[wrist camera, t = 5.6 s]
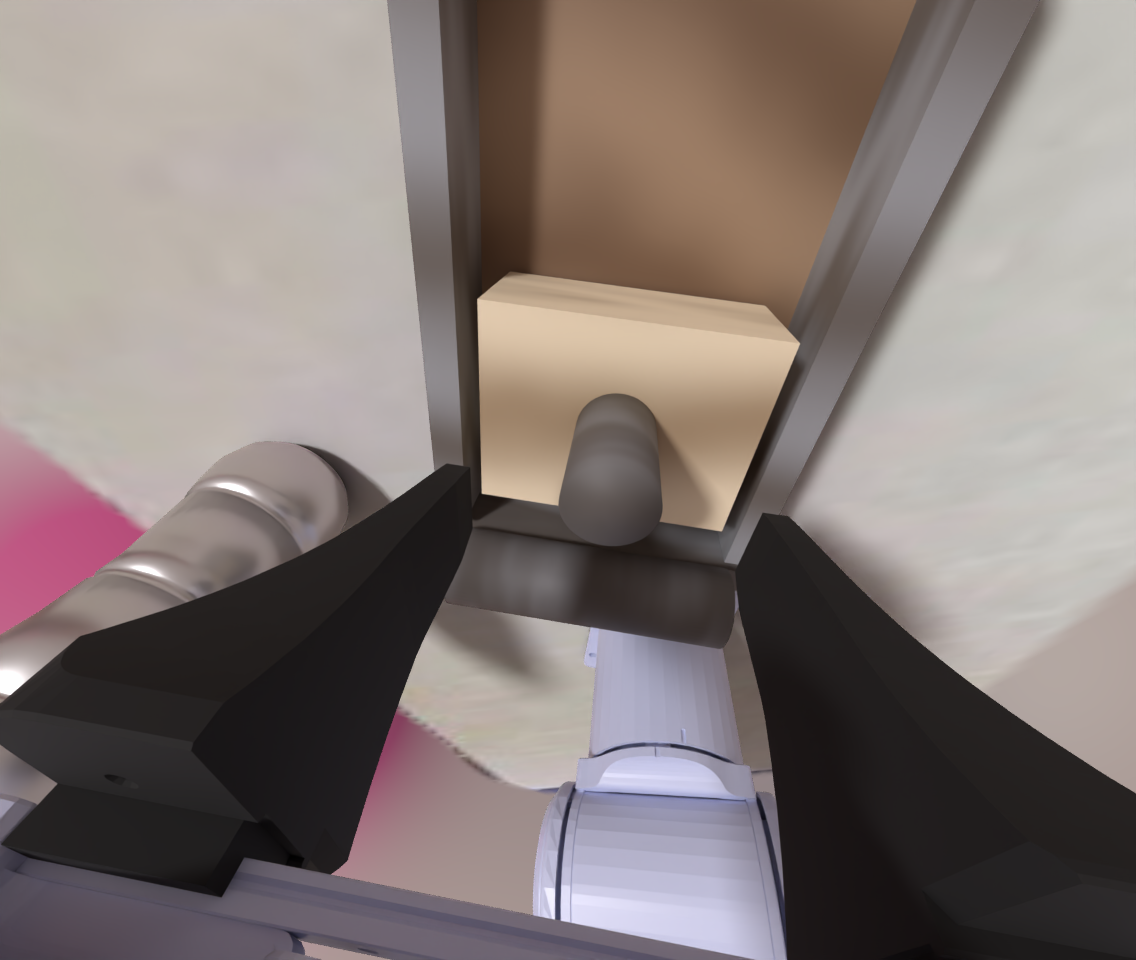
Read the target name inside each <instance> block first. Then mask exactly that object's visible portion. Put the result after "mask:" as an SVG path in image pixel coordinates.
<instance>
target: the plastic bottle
mask: <svg viewBox="0 0 1136 960" xmlns="http://www.w3.org/2000/svg"><path fill="white" fill-rule="evenodd" d="M347 517H348V499H347V492H346V489H345V486H344V484H343V482H342V480H341V478H340V477H339V475H338V474H337V473H336V471H335V470H334V469H333V468H332V467H331V466H330V465H329V464H328V463H327V462H326V461H325V460H323V459H322V458H321V457H320V456H318V455H317V454H315V453H313V452H312V451H310V450H308V449H306V448H303V447H301V446H299V445H295V444H292V443H286V442H271V441H265V442H255V443H253V444H250V445H247V446H245V447H243V448H240V449H238V450H236V451H234V452H232V453H230V454H228V455H225V456H224V457H222V458H221V459H220V460H218V461H217V462H216V463H215V464H214V465H213V466H212V467H211V468H210V469H209V470H208V471H207V472H206V473H205V474H204V475H203V476H201V477H200V478H199V479H198V481H197V482H196V483H195V484H194V485H193V487H192V488H191V489H190V490H189V491H188V493H187V494H186V496H185V498H184V499H182V500H181V501H180V502H179V503H178V504H177V505H176V506H175V507H174V508H172V509H171V510H170V511H169V512H168V513H167V514H166V515H165V516H163V517H162V518H161V519H160V520H159V521H158V522H157V523H156V524H155V525H153V526H152V527H151V528H150V529H149V530H148V531H147V532H146V533H145V534H143V535H142V536H141V537H140V538H139V539H138V540H137V541H136V542H134V543H133V544H132V545H131V546H130V547H129V548H128V549H127V550H126V551H124V552H123V553H122V554H121V555H119V556H118V557H116V558H115V559H114V560H112V561H111V562H109V563H108V564H106V565H105V566H104V567H102V568H101V569H99V570H98V571H96V573H95V575H94V577H90V578H86V579H85V580H84V581H82V582H80V583H79V584H78V585H76V586H75V587H73V588H72V589H70V590H69V591H68V592H66V593H65V594H63V595H62V596H60V597H59V598H58V599H56V600H55V601H53V602H52V603H50V604H49V605H48V606H46V607H45V608H43V609H42V610H40V611H39V612H37V613H36V614H34V615H33V616H31V617H29V618H27V619H26V620H24V621H22V622H21V623H19V624H18V625H16V626H14V627H12V628H11V629H9V630H7V631H6V632H4V633H2V634H1V635H0V703H1V702H2V701H4V700H5V699H6V698H7V697H8V696H10V695H11V694H12V693H13V692H14V691H15V690H17V689H18V688H19V687H20V686H21V685H23V684H24V683H25V682H26V681H27V680H28V679H30V678H31V677H32V676H33V675H34V674H36V673H37V672H38V671H39V670H40V669H41V668H43V667H44V666H45V665H46V664H47V663H49V662H50V661H51V660H52V659H53V658H54V657H56V656H57V655H58V654H59V653H60V652H62V651H63V650H64V649H65V648H66V647H67V646H69V645H70V644H71V643H72V642H73V641H75V640H76V639H77V638H78V637H80V636H82V635H85V634H89V633H92V632H96V631H99V630H102V629H106V628H109V627H112V626H115V625H118V624H122V623H125V622H128V621H131V620H134V619H138V618H141V617H144V616H147V615H150V614H154V613H157V612H160V611H163V610H166V609H169V608H172V607H175V606H178V605H181V604H183V603H186V602H189V601H192V600H194V599H197V598H200V597H203V596H205V595H208V594H211V593H214V592H216V591H219V590H221V589H224V588H226V587H229V586H232V585H234V584H237V583H239V582H242V581H244V580H247V579H249V578H251V577H253V576H256V575H258V574H260V573H262V572H265V571H267V570H269V569H271V568H274V567H276V566H278V565H280V564H283V563H285V562H287V561H289V560H292V559H294V558H296V557H298V556H300V555H302V554H304V553H306V552H308V551H310V550H312V549H314V548H316V547H318V546H320V545H321V544H323V543H325V542H327V541H329V540H331V539H333V538H334V537H336V536H338V535H339V534H340V532H341V530H342V528H343V526H344V525H345V523H346V521H347ZM57 784H58V783H56V782H54V781H53V780H51V779H50V778H48V777H47V776H45V775H44V774H42V773H41V772H39V771H38V770H36V769H35V768H33V767H32V766H30V765H29V764H27V763H26V762H24V761H23V760H21V759H20V758H18V757H17V756H15V755H14V754H12V753H11V752H9V751H8V750H6V749H5V748H4V747H3V746H1V745H0V793H1V794H7V795H11V796H15V797H19V798H22V799H25V800H28V801H30V802H33V803H35V804H37V805H38V804H39V803H40V802H41V801H42V800H43V799H44V798H45V796H46V795H47V794H48V793H49V792H50V791H51V790H52V789H53V788H54V787H55V786H56V785H57Z"/></svg>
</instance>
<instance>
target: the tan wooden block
mask: <svg viewBox="0 0 1136 960" xmlns="http://www.w3.org/2000/svg"><path fill="white" fill-rule="evenodd" d="M477 305H478V348H479V391H480V434H481V477H482V494H487V495H494V496H500V497H506V498H513V499H519V500H525V501H532V502H538V503H544V504H551V505H557V506H559V512H560V515H561V517H562V519H563V521H564V523H565V524H566V526H567V527H568V528H569V529H570V530H571V531H572V532H573V533H574V534H576V535H577V536H579V537H580V538H582V539H584V540H586V541H589V542H591V543H595V544H599V545H604V546H622V545H627V544H631V543H634V542H637V541H639V540H641V539H643V538H645V537H646V536H647V535H649V534H650V533H651V532H652V531H653V530H654V529H655V528H656V526H657V525H658V523H659V522H665V523H671V524H678V525H684V526H690V527H697V528H703V529H709V530H716V531H722V530H723V528H724V525H725V523H726V520H727V518H728V516H729V513H730V511H731V508H732V506H733V504H734V501H735V499H736V496H737V494H738V492H739V489H740V487H741V484H742V482H743V480H744V477H745V475H746V472H747V470H748V468H749V465H750V463H751V460H752V458H753V456H754V453H755V451H756V448H757V446H758V444H759V441H760V439H761V436H762V434H763V432H764V429H765V427H766V424H767V422H768V420H769V417H770V415H771V412H772V410H773V408H774V405H775V403H776V400H777V398H778V396H779V393H780V391H781V388H782V386H783V384H784V381H785V379H786V376H787V374H788V372H789V369H790V367H791V364H792V362H793V360H794V357H795V355H796V352H797V350H798V348H799V345H800V343H799V342H798V341H797V339H796V338H795V337H794V336H793V335H792V334H791V333H790V332H789V331H788V330H787V329H786V328H785V326H784V325H783V324H782V323H781V322H780V321H779V320H778V319H777V318H776V317H775V316H774V315H773V314H772V312H771V311H770V310H769V309H768V308H767V307H766V306H763V305H756V304H749V303H741V302H734V301H726V300H719V299H711V298H704V297H696V296H689V295H682V294H674V293H667V292H659V291H652V290H644V289H637V288H630V287H622V286H615V285H607V284H600V283H592V282H585V281H577V280H570V279H563V278H555V277H548V276H540V275H533V274H525V273H518V272H509V273H508V274H507V275H505V276H504V277H503V278H502V279H501V280H500V281H498V282H497V283H496V284H495V285H494V286H492V287H491V288H490V289H489V290H488V291H486V292H485V293H484V294H483V295H482V296H480V297H479V298H478V299H477Z"/></svg>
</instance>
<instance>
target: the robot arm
mask: <svg viewBox="0 0 1136 960" xmlns="http://www.w3.org/2000/svg"><path fill="white" fill-rule="evenodd" d="M472 529H473V522H472V498H471V473H470V467H466V466H460V465H454V464H447V463H446V464H445V465H443V466H442V467H440V468H439V469H438V470H436V471H435V472H433V473H432V474H431V475H429V476H428V477H426V478H425V479H424V480H422V481H421V482H419V483H418V484H417V485H415V486H414V487H412V488H411V489H410V490H408V491H407V492H405V493H404V494H403V495H401V496H400V497H398V498H397V499H395V500H394V501H392V502H391V503H390V504H388V505H387V506H385V507H384V508H382V509H381V510H379V511H377V512H376V513H374V514H373V515H371V516H369V517H368V518H366V519H365V520H363V521H361V522H360V523H358V524H357V525H355V526H353V527H352V528H350V529H349V530H347V531H345V532H343V533H342V534H340V535H338V536H336V537H334V538H333V539H331V540H329V541H327V542H325V543H323V544H321V545H320V546H318V547H316V548H314V549H312V550H310V551H308V552H306V553H304V554H302V555H300V556H298V557H296V558H294V559H292V560H289V561H287V562H285V563H283V564H280V565H278V566H276V567H274V568H271V569H269V570H267V571H265V572H262V573H260V574H258V575H256V576H253V577H251V578H249V579H247V580H244V581H242V582H239V583H237V584H234V585H232V586H229V587H226V588H224V589H221V590H219V591H216V592H214V593H211V594H208V595H205V596H203V597H200V598H197V599H194V600H192V601H189V602H186V603H183V604H181V605H178V606H175V607H172V608H169V609H166V610H163V611H160V612H157V613H154V614H150V615H147V616H144V617H141V618H138V619H134V620H131V621H128V622H125V623H122V624H118V625H115V626H112V627H109V628H106V629H102V630H99V631H96V632H92V633H89V634H85V635H82V636H80V637H78V638H77V639H76V640H75V641H73V642H72V643H71V644H70V645H69V646H67V647H66V648H65V649H64V650H63V651H62V652H60V653H59V654H58V655H57V656H56V657H54V658H53V659H52V660H51V661H50V662H49V663H47V664H46V665H45V666H44V667H43V668H41V669H40V670H39V671H38V672H37V673H36V674H34V675H33V676H32V677H31V678H30V679H28V680H27V681H26V682H25V683H24V684H23V685H21V686H20V687H19V688H18V689H17V690H15V691H14V692H13V693H12V694H11V695H10V696H8V697H7V698H6V699H5V700H4V701H2V702H1V703H0V745H1V746H3V747H4V748H5V749H6V750H8V751H9V752H11V753H12V754H14V755H15V756H17V757H18V758H20V759H21V760H23V761H24V762H26V763H27V764H29V765H30V766H32V767H33V768H35V769H36V770H38V771H39V772H41V773H42V774H44V775H45V776H47V777H48V778H50V779H51V780H53V781H54V782H56V783H58V784H57V785H56V786H55V787H54V788H53V789H52V790H51V791H50V792H49V793H48V794H47V795H46V796H45V798H44V799H43V800H42V801H41V802H40V803H39V804H38V805H37V804H35V803H33V802H30V801H28V800H25V799H22V798H19V797H15V796H11V795H7V794H1V793H0V960H320V959H317V958H313V957H310V956H306V955H305V950H304V947H303V945H302V942H301V941H305V942H309V943H315V944H319V945H324V946H329V947H334V948H338V949H343V950H348V951H353V952H358V953H362V954H367V955H372V956H377V957H382V958H387V959H391V960H1136V793H1134V792H1133V791H1131V790H1129V789H1128V788H1126V787H1124V786H1123V785H1121V784H1119V783H1117V782H1116V781H1114V780H1113V779H1111V778H1109V777H1107V776H1106V775H1104V774H1103V773H1101V772H1100V771H1098V770H1096V769H1095V768H1094V767H1092V766H1090V765H1089V764H1087V763H1086V762H1084V761H1083V760H1081V759H1080V758H1078V757H1077V756H1075V755H1073V754H1072V753H1071V752H1069V751H1067V750H1066V749H1064V748H1063V747H1061V746H1060V745H1058V744H1057V743H1055V742H1054V741H1052V740H1051V739H1049V738H1047V737H1046V736H1044V735H1043V734H1042V733H1040V732H1039V731H1037V730H1036V729H1034V728H1033V727H1031V726H1030V725H1028V724H1027V723H1025V722H1024V721H1022V720H1021V719H1020V718H1018V717H1017V716H1015V715H1014V714H1012V713H1011V712H1010V711H1008V710H1007V709H1005V708H1004V707H1003V706H1001V705H1000V704H999V703H997V702H996V701H994V700H993V699H992V698H990V697H989V696H988V695H986V694H985V693H983V692H982V691H981V690H979V689H978V688H977V687H975V686H974V685H972V684H971V683H970V682H968V681H967V680H966V679H965V678H963V677H962V676H961V675H959V674H958V673H957V672H955V671H954V670H953V669H952V668H950V667H949V666H948V665H946V664H945V663H944V662H943V661H942V660H940V659H939V658H938V657H937V656H935V655H934V654H933V653H932V652H931V651H929V650H928V649H927V648H926V647H924V646H923V645H922V644H921V643H919V642H918V641H917V640H916V639H915V638H914V637H912V636H911V635H910V634H909V633H908V632H907V631H905V630H904V629H903V628H902V627H901V626H900V625H899V624H897V623H896V622H895V621H894V620H893V619H892V618H891V617H890V616H889V615H888V614H887V613H885V612H884V611H883V610H882V609H881V608H880V607H879V606H878V605H877V604H876V603H875V602H873V601H872V600H871V599H870V598H869V597H868V596H867V595H866V594H865V593H864V592H863V591H862V590H861V589H860V588H859V587H858V586H857V585H856V584H855V583H854V582H853V581H852V580H851V579H850V578H849V577H848V576H847V575H846V574H845V573H844V572H843V571H842V570H841V569H840V568H839V567H838V566H837V565H836V564H835V563H834V562H833V561H832V560H831V559H830V558H829V557H828V556H827V555H826V554H825V553H824V552H823V551H822V550H821V548H820V547H819V546H818V545H817V544H816V543H815V542H814V541H813V540H812V539H811V538H810V537H809V536H808V535H807V534H806V533H805V532H804V531H803V530H802V529H801V528H800V527H799V526H798V525H797V524H796V523H795V522H794V521H793V520H792V519H791V518H790V517H788V516H782V515H776V514H769V513H762V515H761V517H760V519H759V521H758V523H757V526H756V528H755V530H754V532H753V534H752V536H751V538H750V540H749V542H748V544H747V547H746V549H745V551H744V553H743V555H742V557H741V559H740V561H739V563H738V566H737V568H736V570H735V575H736V587H737V591H735V613H736V612H737V610H738V608H739V611H740V615H741V619H742V624H743V628H744V632H745V636H746V640H747V644H748V648H749V652H750V656H751V660H752V664H753V668H754V672H755V676H756V680H757V684H758V688H759V692H760V696H761V700H762V705H763V710H764V715H765V721H766V728H767V734H768V741H769V748H770V755H771V763H772V771H773V779H774V788H775V796H776V799H775V798H774V796H773V795H772V794H771V793H768V792H756V794H755V789H754V784H753V778H752V773H751V768H750V766H748V765H744V763H743V758H742V752H741V746H740V741H739V735H738V730H737V724H736V719H735V713H734V707H733V702H732V696H731V691H730V685H729V680H728V674H727V669H726V663H725V657H724V652H723V648H721V649H716V648H710V647H704V646H698V645H692V644H686V643H680V642H675V641H669V640H663V639H657V638H651V637H645V636H639V635H633V634H627V633H621V632H615V631H610V630H604V629H598V628H592V627H591V628H590V633H589V637H588V642H587V647H586V652H585V656H584V664H585V665H586V666H588V667H593V668H596V670H595V682H594V695H593V707H592V720H591V732H590V745H589V757H588V758H579V759H578V767H577V777H576V782H570V781H569V782H565V783H564V784H562V786H561V787H560V788H559V790H558V792H557V793H556V795H555V796H554V797H553V798H552V800H551V801H550V803H549V805H548V807H547V809H546V812H545V815H544V819H543V822H542V826H541V831H540V836H539V842H538V848H537V854H536V863H535V873H534V887H533V915H530V914H525V913H519V912H514V911H509V910H505V909H500V908H494V907H490V906H485V905H480V904H475V903H470V902H465V901H460V900H455V899H450V898H445V897H440V896H435V895H430V894H425V893H419V892H415V891H409V890H405V889H400V888H394V887H390V886H385V885H380V884H374V883H370V882H365V881H360V880H355V879H349V878H345V877H340V876H335V875H330V874H332V873H333V872H335V871H336V870H337V869H339V868H340V867H341V866H342V865H343V864H344V863H345V862H347V860H348V857H349V854H350V850H351V847H352V844H353V840H354V837H355V834H356V831H357V827H358V824H359V821H360V818H361V815H362V811H363V808H364V805H365V802H366V798H367V795H368V792H369V789H370V785H371V782H372V780H373V777H374V774H375V770H376V767H377V765H378V762H379V758H380V755H381V753H382V750H383V746H384V744H385V741H386V737H387V735H388V731H389V729H390V726H391V723H392V721H393V718H394V715H395V712H396V709H397V707H398V704H399V701H400V698H401V695H402V693H403V690H404V687H405V685H406V682H407V679H408V677H409V674H410V671H411V669H412V666H413V663H414V661H415V658H416V655H417V653H418V651H419V649H420V646H421V644H422V642H423V640H424V637H425V635H426V633H427V631H428V629H429V627H430V625H431V623H432V621H433V619H434V617H435V615H436V613H437V611H438V609H439V607H440V605H441V603H442V601H443V599H444V597H445V595H446V593H447V591H448V589H449V587H450V585H451V583H452V581H453V579H454V576H455V574H456V572H457V570H458V568H459V566H460V564H461V562H462V559H463V556H464V553H465V550H466V547H467V544H468V541H469V538H470V535H471V532H472ZM299 940H300V941H299Z"/></svg>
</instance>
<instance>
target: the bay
mask: <svg viewBox="0 0 1136 960" xmlns="http://www.w3.org/2000/svg"><path fill="white" fill-rule="evenodd" d="M1039 1H1040V0H387V3H388V13H389V23H390V33H391V43H392V53H393V63H394V72H395V82H396V92H397V102H398V112H399V122H400V132H401V142H402V152H403V162H404V172H405V182H406V192H407V202H408V212H409V221H410V231H411V241H412V251H413V261H414V271H415V281H416V291H417V301H418V311H419V321H420V331H421V341H422V351H423V361H424V371H425V380H426V390H427V400H428V410H429V420H430V430H431V440H432V450H433V460H434V470H435V471H436V470H438V469H439V468H440V467H442V466H443V465H445V464H446V463H447V464H454V465H460V466H466V467H470V473H471V498H472V522H473V529H472V532H471V535H470V538H469V541H468V544H467V547H466V550H465V553H464V556H463V559H462V562H461V564H460V566H459V568H458V570H457V572H456V574H455V576H454V579H453V581H452V583H451V585H450V587H449V589H448V591H447V593H446V595H445V597H444V598H445V601H446V602H447V603H450V604H456V605H462V606H468V607H474V608H480V609H486V610H491V611H497V612H503V613H509V614H515V615H521V616H527V617H533V618H539V619H545V620H551V621H556V622H562V623H568V624H574V625H580V626H586V627H592V628H598V629H604V630H610V631H615V632H621V633H627V634H633V635H639V636H645V637H651V638H657V639H663V640H669V641H675V642H680V643H686V644H692V645H698V646H704V647H710V648H716V649H721V648H723V647H724V646H725V645H726V643H727V641H728V639H729V637H730V634H731V631H732V627H733V622H734V615H735V591H737V587H736V575H735V570H736V568H737V566H738V563H739V561H740V559H741V557H742V555H743V553H744V551H745V549H746V547H747V544H748V542H749V540H750V538H751V536H752V534H753V532H754V530H755V528H756V526H757V523H758V521H759V519H760V517H761V515H762V513H769V514H776V515H779V514H780V512H781V510H782V508H783V506H784V504H785V502H786V501H787V499H788V497H789V495H790V493H791V491H792V489H793V487H794V485H795V483H796V481H797V479H798V477H799V475H800V473H801V471H802V469H803V467H804V465H805V463H806V461H807V459H808V457H809V455H810V453H811V451H812V449H813V447H814V445H815V443H816V441H817V439H818V437H819V435H820V433H821V431H822V429H823V428H824V426H825V424H826V422H827V420H828V418H829V416H830V414H831V412H832V410H833V408H834V406H835V404H836V402H837V400H838V398H839V396H840V394H841V392H842V390H843V388H844V386H845V384H846V382H847V380H848V378H849V376H850V374H851V372H852V370H853V368H854V366H855V364H856V362H857V360H858V358H859V356H860V354H861V353H862V351H863V349H864V347H865V345H866V343H867V341H868V339H869V337H870V335H871V333H872V331H873V329H874V327H875V325H876V323H877V321H878V319H879V317H880V315H881V313H882V311H883V309H884V307H885V305H886V303H887V301H888V299H889V297H890V295H891V293H892V291H893V289H894V287H895V285H896V283H897V281H898V279H899V278H900V276H901V274H902V272H903V270H904V268H905V266H906V264H907V262H908V260H909V258H910V256H911V254H912V252H913V250H914V248H915V246H916V244H917V242H918V240H919V238H920V236H921V234H922V232H923V230H924V228H925V226H926V224H927V222H928V220H929V218H930V216H931V214H932V212H933V210H934V208H935V206H936V204H937V203H938V201H939V199H940V197H941V195H942V193H943V191H944V189H945V187H946V185H947V183H948V181H949V179H950V177H951V175H952V173H953V171H954V169H955V167H956V165H957V163H958V161H959V159H960V157H961V155H962V153H963V151H964V149H965V147H966V145H967V143H968V141H969V139H970V137H971V135H972V133H973V131H974V130H975V128H976V126H977V124H978V122H979V120H980V118H981V116H982V114H983V112H984V110H985V108H986V106H987V104H988V102H989V100H990V98H991V96H992V94H993V92H994V90H995V88H996V86H997V84H998V82H999V80H1000V78H1001V76H1002V74H1003V72H1004V70H1005V68H1006V66H1007V64H1008V62H1009V60H1010V58H1011V56H1012V55H1013V53H1014V51H1015V49H1016V47H1017V45H1018V43H1019V41H1020V39H1021V37H1022V35H1023V33H1024V31H1025V29H1026V27H1027V25H1028V23H1029V21H1030V19H1031V17H1032V15H1033V13H1034V11H1035V9H1036V7H1037V5H1038V3H1039ZM509 272H518V273H525V274H533V275H540V276H548V277H555V278H563V279H570V280H577V281H585V282H592V283H600V284H607V285H615V286H622V287H630V288H637V289H644V290H652V291H659V292H667V293H674V294H682V295H689V296H696V297H704V298H711V299H719V300H726V301H734V302H741V303H749V304H756V305H763V306H766V307H767V308H768V309H769V310H770V311H771V312H772V314H773V315H774V316H775V317H776V318H777V319H778V320H779V321H780V322H781V323H782V324H783V325H784V326H785V328H786V329H787V330H788V331H789V332H790V333H791V334H792V335H793V336H794V337H795V338H796V339H797V341H798V342H799V343H800V345H799V348H798V350H797V352H796V355H795V357H794V360H793V362H792V364H791V367H790V369H789V372H788V374H787V376H786V379H785V381H784V384H783V386H782V388H781V391H780V393H779V396H778V398H777V400H776V403H775V405H774V408H773V410H772V412H771V415H770V417H769V420H768V422H767V424H766V427H765V429H764V432H763V434H762V436H761V439H760V441H759V444H758V446H757V448H756V451H755V453H754V456H753V458H752V460H751V463H750V465H749V468H748V470H747V472H746V475H745V477H744V480H743V482H742V484H741V487H740V489H739V492H738V494H737V496H736V499H735V501H734V504H733V506H732V508H731V511H730V513H729V516H728V518H727V520H726V523H725V525H724V528H723V530H722V531H716V530H709V529H703V528H697V527H690V526H684V525H678V524H671V523H665V522H659V523H658V525H657V526H656V528H655V529H654V530H653V531H652V532H651V533H650V534H649V535H647V536H646V537H645V538H643V539H641V540H639V541H637V542H634V543H631V544H627V545H622V546H604V545H599V544H595V543H591V542H589V541H586V540H584V539H582V538H580V537H579V536H577V535H576V534H574V533H573V532H572V531H571V530H570V529H569V528H568V527H567V526H566V524H565V523H564V521H563V519H562V517H561V515H560V512H559V506H557V505H551V504H544V503H538V502H532V501H525V500H519V499H513V498H506V497H500V496H494V495H487V494H482V477H481V434H480V391H479V348H478V305H477V299H478V298H479V297H480V296H482V295H483V294H484V293H485V292H486V291H488V290H489V289H490V288H491V287H492V286H494V285H495V284H496V283H497V282H498V281H500V280H501V279H502V278H503V277H504V276H505V275H507V274H508V273H509Z"/></svg>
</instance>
